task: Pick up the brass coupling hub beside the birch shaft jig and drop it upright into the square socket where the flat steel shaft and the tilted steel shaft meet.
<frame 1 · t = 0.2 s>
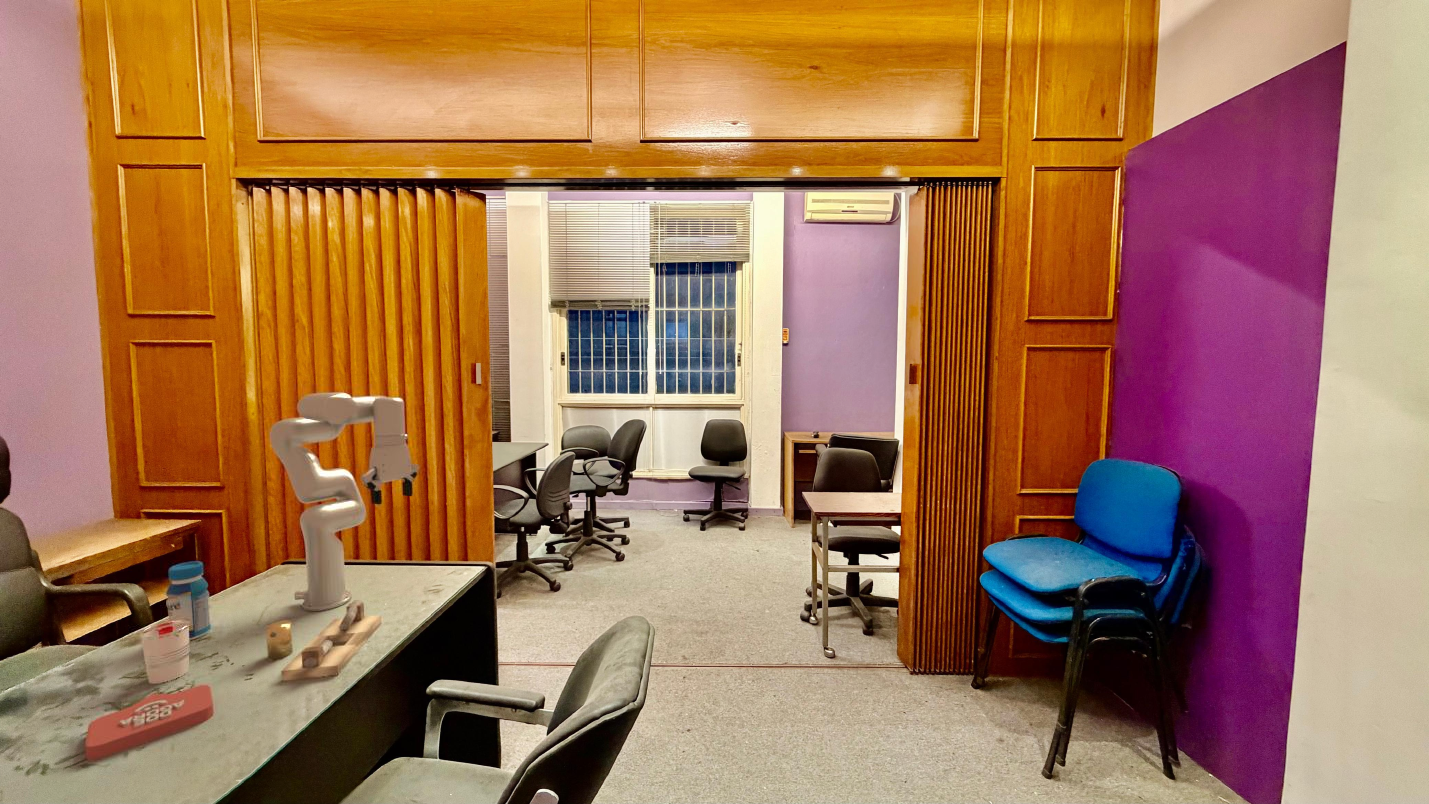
hand: (392, 499, 151), 37 cm above the table, tool pointing down, fingers open, 9 cm apart
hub: (280, 654, 137), on the table
plaque: (154, 725, 112), on the table
blue supplement bottle: (190, 635, 147), on the table
striped cup with float: (169, 676, 128), on the table
shaft jig: (336, 649, 140), on the table
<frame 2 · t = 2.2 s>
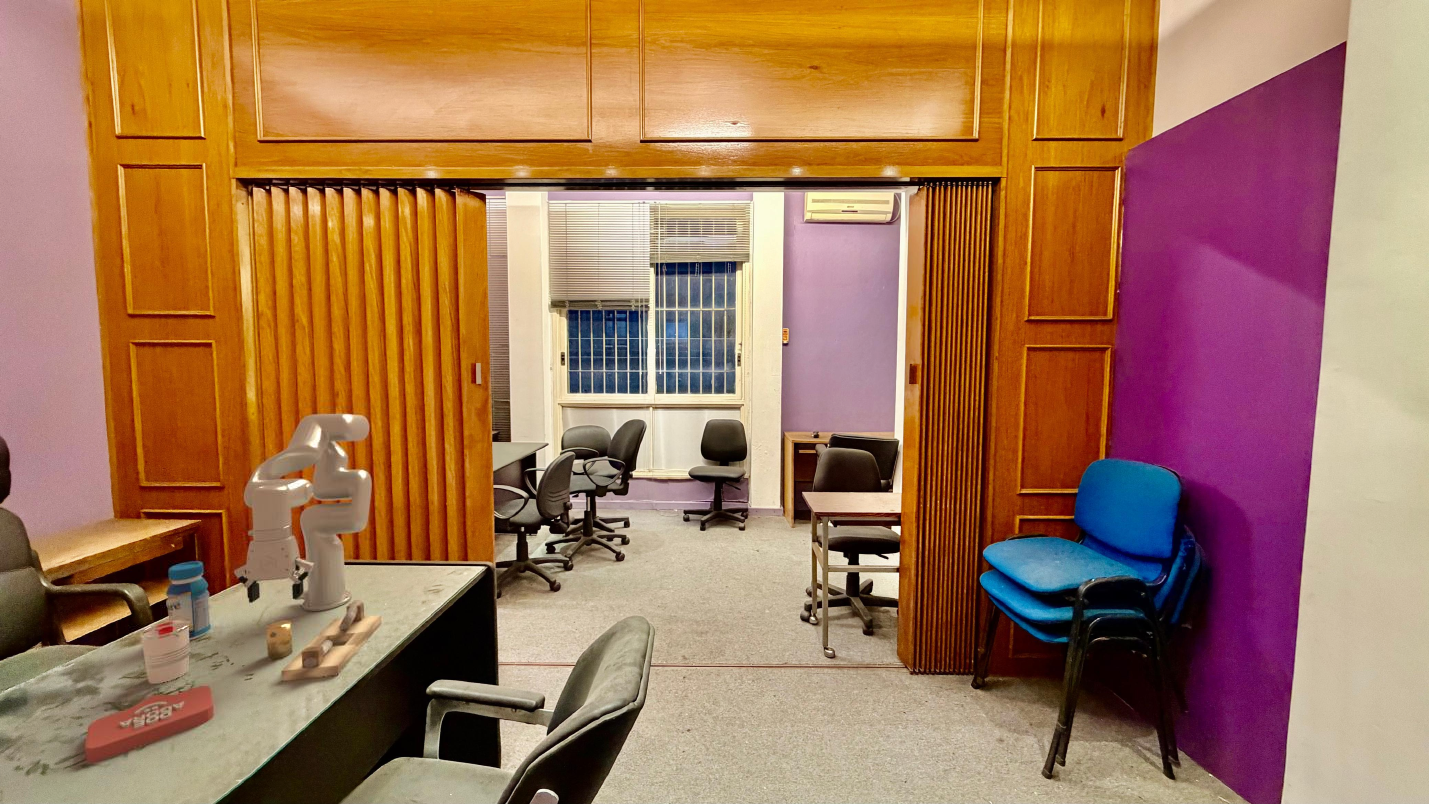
hand: (276, 598, 136), 15 cm above the table, tool pointing down, fingers open, 9 cm apart
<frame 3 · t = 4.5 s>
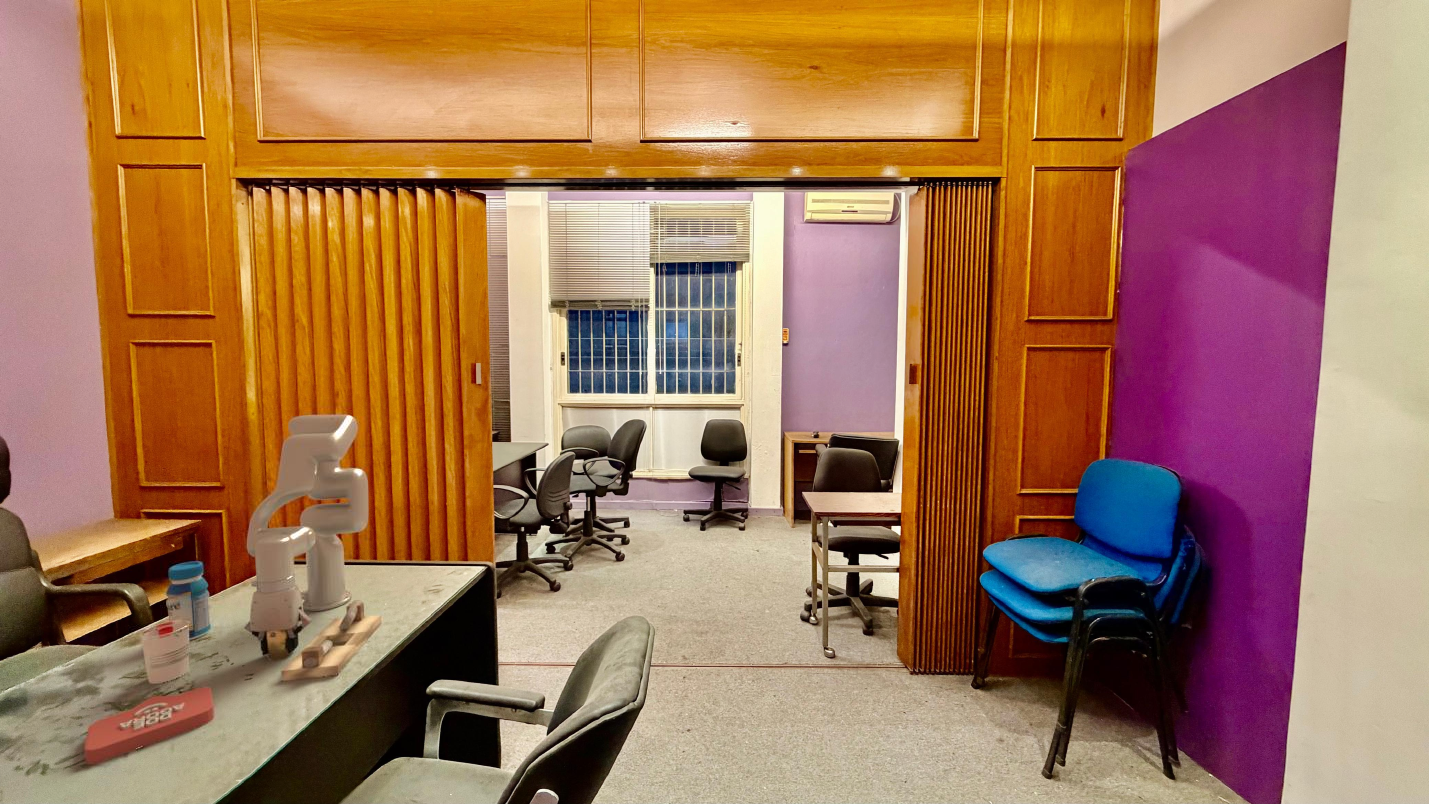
hand: (280, 650, 137), 1 cm above the table, tool pointing down, fingers closed on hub, 5 cm apart
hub: (280, 654, 137), on the table, touching gripper
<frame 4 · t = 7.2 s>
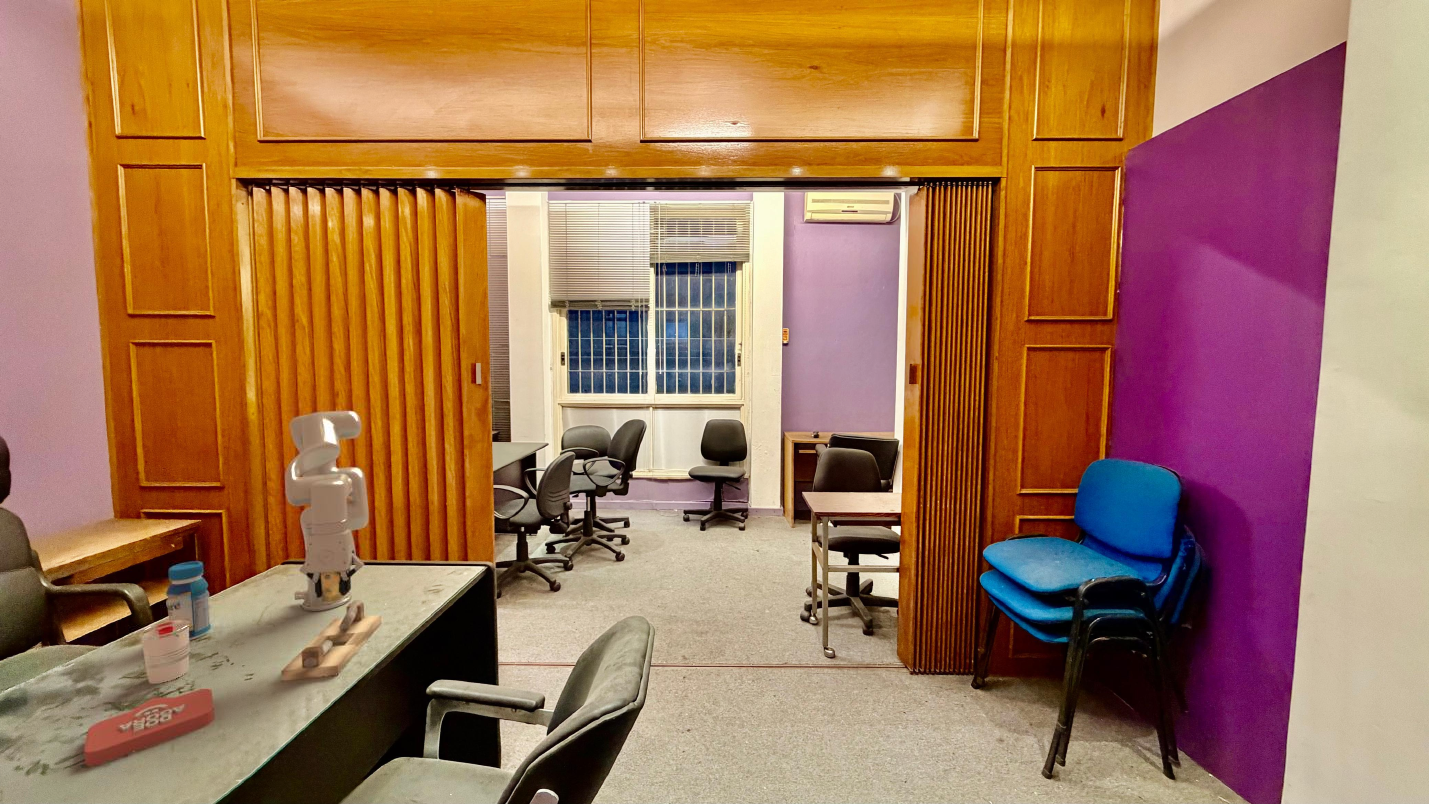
hand: (333, 593, 139), 15 cm above the table, tool pointing down, fingers closed on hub, 5 cm apart
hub: (333, 597, 139), point 14 cm above the table, touching gripper
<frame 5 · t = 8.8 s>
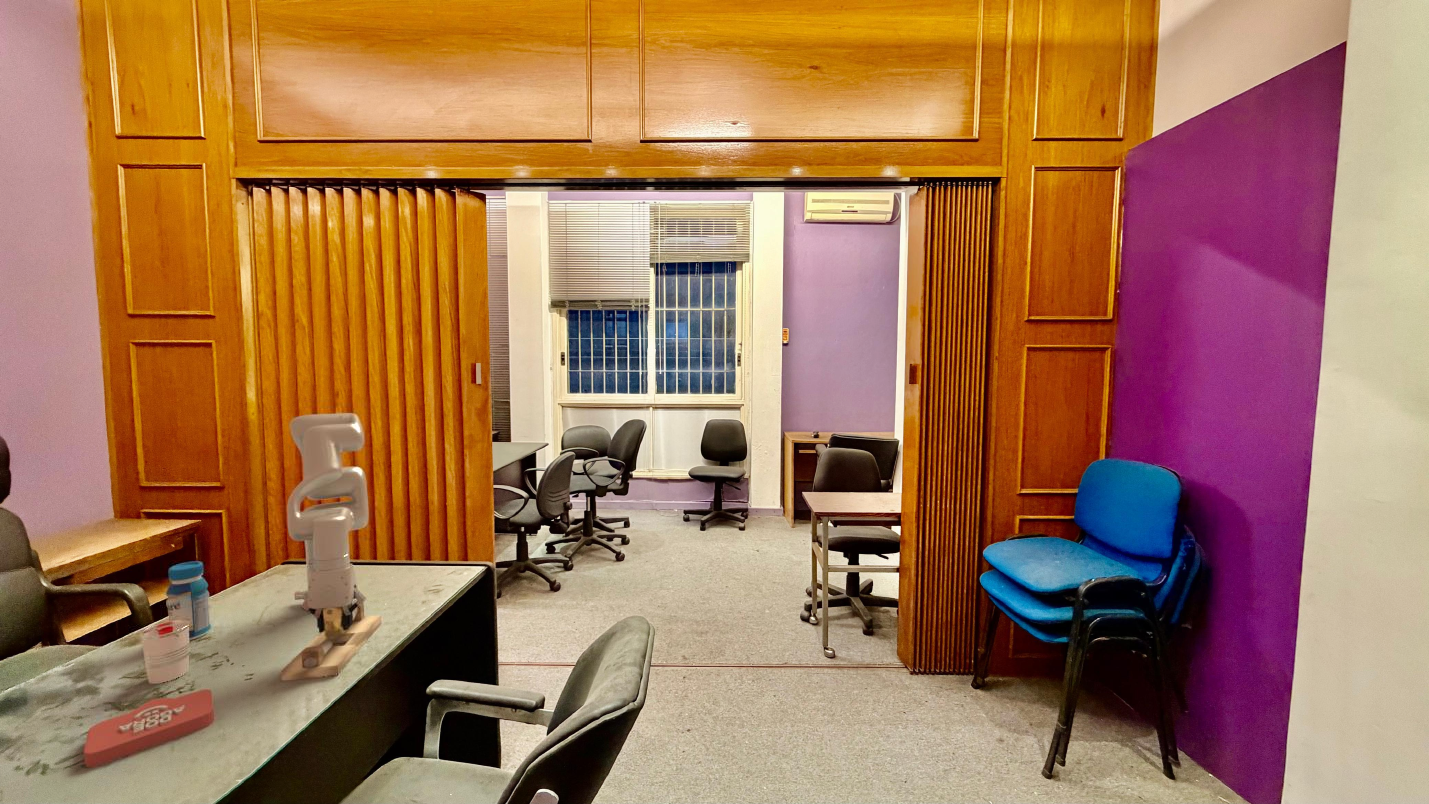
hand: (335, 628, 140), 6 cm above the table, tool pointing down, fingers closed on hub, 5 cm apart
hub: (335, 632, 140), point 5 cm above the table, touching gripper
when the fingers open (4 cm above the table, at t = 10.0 s): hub drops 3 cm, resting in shaft jig.
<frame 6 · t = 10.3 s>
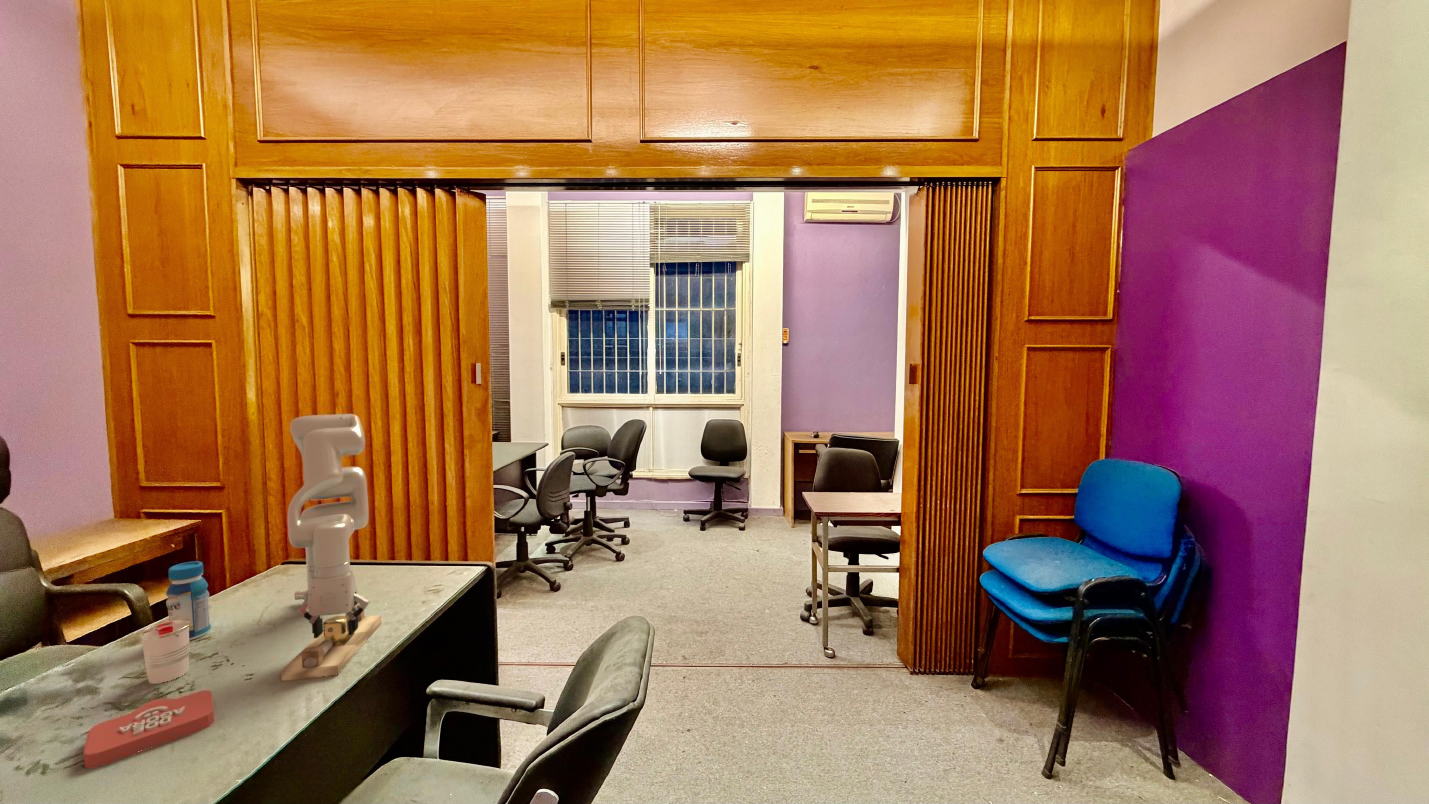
hand: (335, 633, 140), 4 cm above the table, tool pointing down, fingers open, 7 cm apart
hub: (336, 649, 140), resting in shaft jig
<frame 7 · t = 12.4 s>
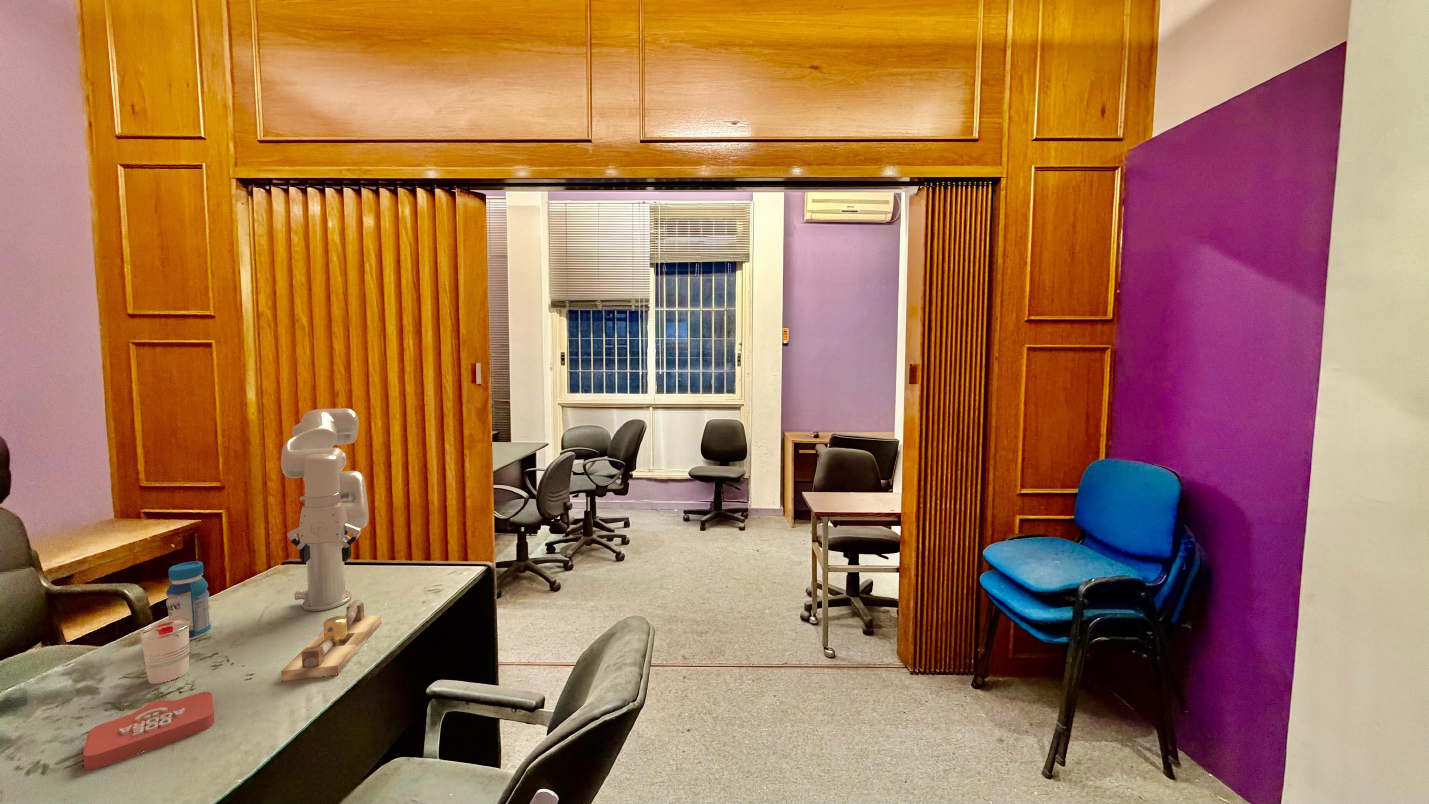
hand: (326, 560, 144), 22 cm above the table, tool pointing down, fingers open, 9 cm apart
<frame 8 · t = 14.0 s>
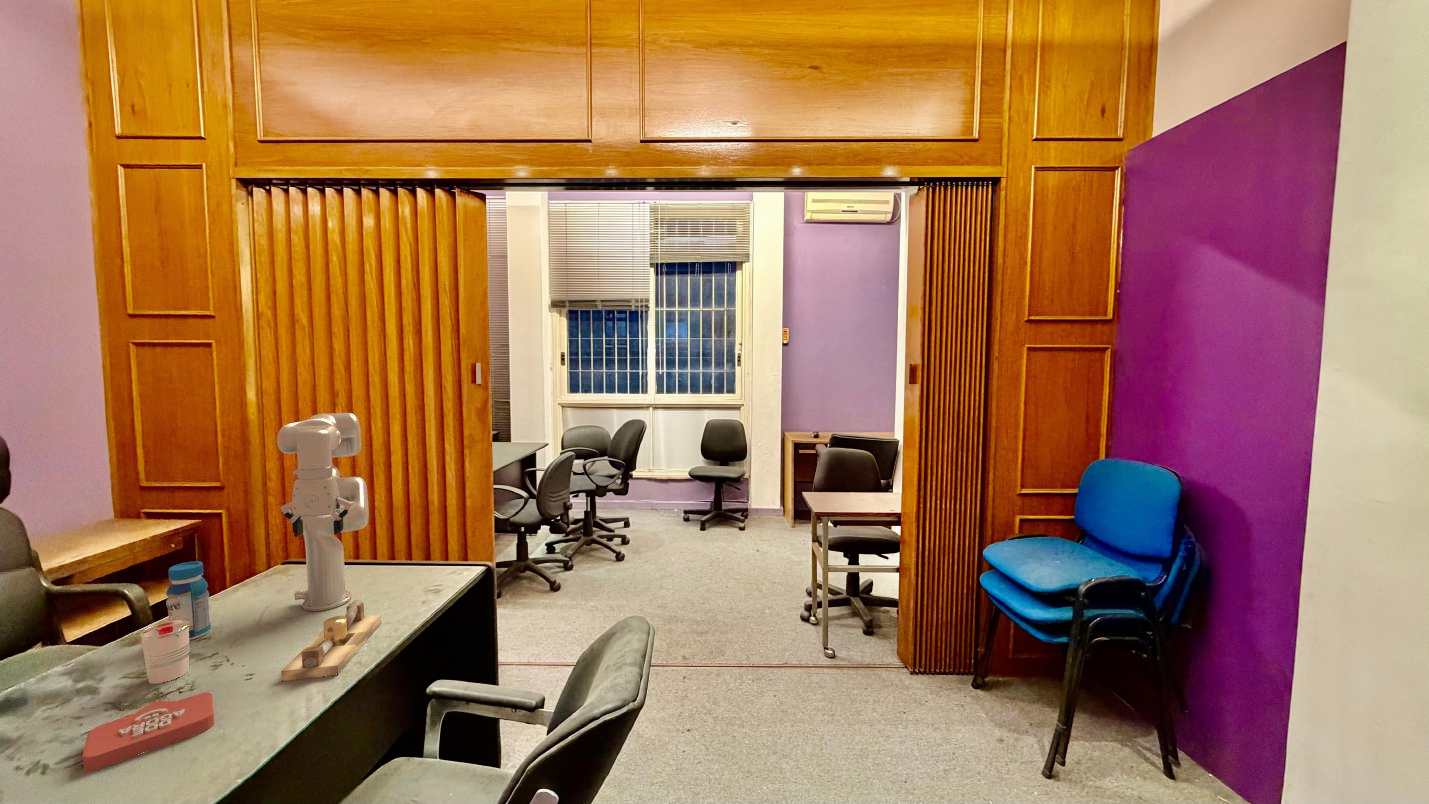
hand: (318, 534, 147), 28 cm above the table, tool pointing down, fingers open, 9 cm apart
at the end: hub 0.0 cm off-centre on the shaft jig, point 0.0 cm above the shaft jig's base; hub tilted 0°; the gripper is holding nothing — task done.
